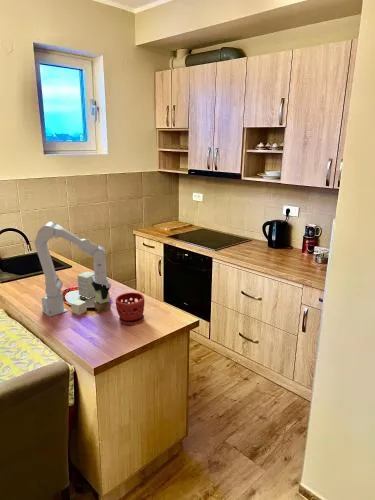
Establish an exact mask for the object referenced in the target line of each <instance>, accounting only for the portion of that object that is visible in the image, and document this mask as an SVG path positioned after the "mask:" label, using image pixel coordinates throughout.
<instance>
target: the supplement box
mask: <svg viewBox="0 0 375 500" xmlns="http://www.w3.org/2000/svg"><path fill="white" fill-rule="evenodd" d="M76 276H77V285H78V289H77V290H78V296H79V295H81V296H84V297H87V298H90V297H93V296H95V289H94V287H93V285H92V284H91V283H92V282H94V280H92V276H95V275H94V272H93V271H84V272H82V273H79V274H77V275H76ZM93 298H94V297H93Z"/></svg>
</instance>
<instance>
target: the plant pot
mask: <svg viewBox="0 0 375 500" xmlns="http://www.w3.org/2000/svg"><path fill="white" fill-rule="evenodd" d="M136 299H137V301H136ZM115 306H116V311H117V314H118V316H119V317H118V319H119V322H120V323H121V324H122V325H126V326H135V325H137V324H138V325H139V324H140V323H142V321H144V319H145V315H144V312H145V296H144V295H143V294H142V293H139V292H126V293H122V294H119V295H118V296H117V297H116V298H115Z"/></svg>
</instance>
